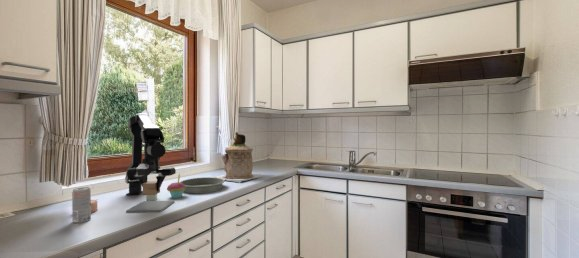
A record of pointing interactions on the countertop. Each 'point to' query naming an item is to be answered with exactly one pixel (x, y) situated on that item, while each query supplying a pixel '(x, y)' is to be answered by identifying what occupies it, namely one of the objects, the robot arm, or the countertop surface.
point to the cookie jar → (238, 161)
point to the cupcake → (176, 189)
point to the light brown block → (93, 206)
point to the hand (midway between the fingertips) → (151, 191)
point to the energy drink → (81, 205)
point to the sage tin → (151, 197)
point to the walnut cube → (150, 188)
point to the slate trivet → (150, 206)
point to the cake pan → (202, 185)
